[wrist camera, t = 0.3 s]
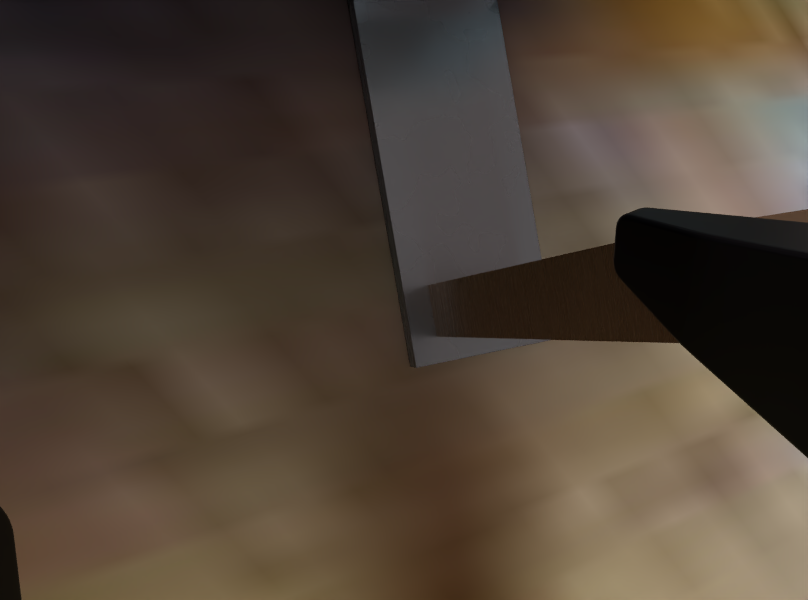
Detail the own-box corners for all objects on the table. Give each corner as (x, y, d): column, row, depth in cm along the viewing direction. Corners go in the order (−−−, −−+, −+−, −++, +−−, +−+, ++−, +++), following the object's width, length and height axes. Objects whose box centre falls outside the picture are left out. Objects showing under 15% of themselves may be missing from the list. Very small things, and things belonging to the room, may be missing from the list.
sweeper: (545, 338, 26) (891, 346, 12) (410, 366, 24) (644, 410, 11) (484, -15, 26) (764, -386, 12) (345, -13, 24) (498, -443, 11)
